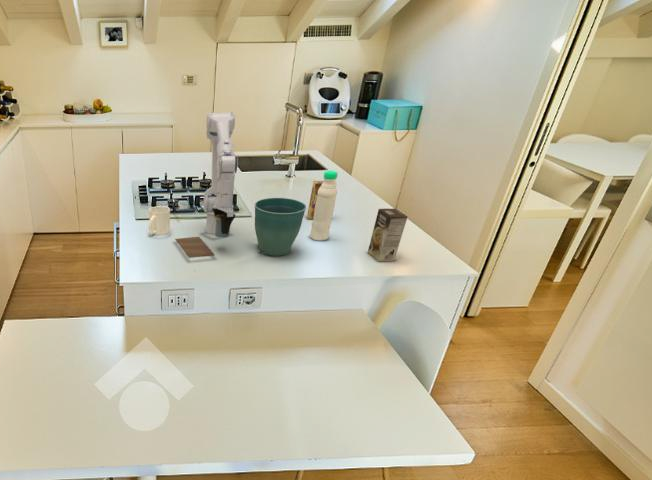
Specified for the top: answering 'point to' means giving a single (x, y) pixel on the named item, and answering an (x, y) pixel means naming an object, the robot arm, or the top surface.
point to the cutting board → (194, 247)
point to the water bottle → (324, 207)
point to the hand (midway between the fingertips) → (222, 230)
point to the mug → (159, 220)
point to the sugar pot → (219, 228)
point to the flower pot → (277, 224)
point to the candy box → (313, 198)
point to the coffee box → (387, 234)
